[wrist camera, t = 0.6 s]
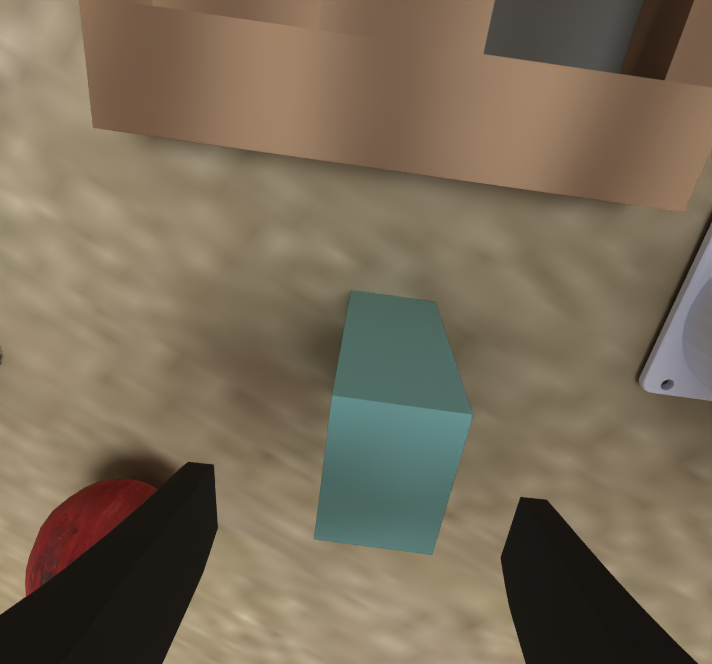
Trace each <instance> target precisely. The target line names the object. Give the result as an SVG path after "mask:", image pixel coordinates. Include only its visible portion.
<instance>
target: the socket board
mask: <svg viewBox="0 0 712 664" xmlns="http://www.w3.org/2000/svg"><path fill="white" fill-rule="evenodd" d="M79 4H80V13H81V22H82V31H83V41H84V50H85V59H86V68H87V77H88V86H89V95H90V104H91V113H92V122H93V128H98V129H105V130H112V131H119V132H126V133H134V134H141V135H148V136H155V137H162V138H169V139H176V140H183V141H190V142H197V143H204V144H211V145H218V146H225V147H232V148H239V149H246V150H253V151H260V152H267V153H274V154H281V155H288V156H295V157H302V158H309V159H316V160H323V161H330V162H337V163H344V164H351V165H358V166H365V167H372V168H379V169H386V170H393V171H400V172H407V173H414V174H421V175H428V176H435V177H442V178H449V179H456V180H463V181H470V182H477V183H484V184H491V185H498V186H505V187H512V188H519V189H526V190H533V191H540V192H547V193H554V194H561V195H568V196H575V197H582V198H589V199H596V200H603V201H610V202H617V203H624V204H631V205H638V206H645V207H652V208H659V209H666V210H673V211H680V212H684V211H685V209H686V206H687V204H688V202H689V200H690V197H691V195H692V193H693V190H694V188H695V186H696V183H697V181H698V179H699V177H700V174H701V172H702V170H703V167H704V165H705V163H706V161H707V158H708V156H709V154H710V151H711V149H712V0H79Z"/></svg>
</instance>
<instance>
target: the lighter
mask: <svg viewBox="0 0 712 664" xmlns="http://www.w3.org/2000/svg"><path fill="white" fill-rule="evenodd" d="M2 357H3V355H2V351H1V347H0V365H1V363H2Z"/></svg>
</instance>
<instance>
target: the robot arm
mask: <svg viewBox="0 0 712 664" xmlns="http://www.w3.org/2000/svg"><path fill="white" fill-rule="evenodd" d="M665 380H668V382H667V383H666V384H664V385H661V384H662V382H663V381H665ZM639 384H640V386H641V387H642V388H643V389H644V390H645V391H647V392H650V393H656V394H664V395H671V396H678V397H685V398H692V399H700V400H707V401H712V223H711V225H710V227H709V229H708V232H707V234H706V236H705V238H704V240H703V242H702V244H701V247H700V249H699V251H698V253H697V255H696V257H695V260H694V262H693V264H692V266H691V268H690V270H689V272H688V275H687V277H686V279H685V281H684V283H683V285H682V287H681V290H680V292H679V294H678V296H677V298H676V300H675V302H674V305H673V307H672V309H671V311H670V313H669V315H668V318H667V320H666V322H665V324H664V326H663V328H662V330H661V333H660V335H659V337H658V339H657V341H656V343H655V345H654V348H653V350H652V352H651V354H650V356H649V358H648V360H647V363H646V365H645V367H644V369H643V371H642V373H641V376H640V378H639ZM217 529H218V523H217V507H216V491H215V476H214V465H212V464H203V463H193V462H188V463H186V464H185V465H184V466H182V467H181V468H180V469H179V470H178V471H177V472H176V473H175V474H174V475H173V476H172V477H170V478H169V479H168V480H167V481H166V482H165V483H164V484H163V485H162V486H161V487H160V488H158V489H157V490H156V491H155V492H154V493H153V494H152V495H151V496H150V497H149V498H147V499H146V500H145V501H144V502H143V503H142V504H141V505H140V506H139V507H137V508H136V509H135V510H134V511H133V512H132V513H131V514H129V515H128V516H127V517H126V518H125V519H124V520H122V521H121V522H120V523H119V524H118V525H117V526H116V527H114V528H113V529H112V530H111V531H110V532H109V533H107V534H106V535H105V536H104V537H103V538H101V539H100V540H99V541H98V542H96V543H95V544H94V545H93V546H91V547H90V548H89V549H88V550H86V551H85V552H84V553H83V554H81V555H80V556H79V557H78V558H76V559H75V560H74V561H73V562H72V563H70V564H69V565H68V566H67V567H65V568H64V569H63V570H61V571H60V572H59V573H57V574H56V575H55V576H53V577H52V578H51V579H49V580H48V581H47V582H45V583H44V584H43V585H41V586H40V587H39V588H37V589H36V590H35V591H33V592H32V593H30V594H29V595H28V596H26V597H25V598H23V599H22V600H21V601H19V602H18V603H16V604H15V605H14V606H12V607H11V608H9V609H8V610H6V611H5V612H4V613H2V614H1V615H0V664H162V663H163V661H164V659H165V657H166V654H167V652H168V650H169V648H170V646H171V643H172V641H173V639H174V637H175V635H176V632H177V630H178V628H179V626H180V623H181V621H182V619H183V617H184V615H185V612H186V610H187V608H188V606H189V603H190V601H191V599H192V597H193V594H194V592H195V590H196V588H197V585H198V583H199V581H200V579H201V576H202V574H203V572H204V569H205V566H206V563H207V560H208V557H209V554H210V551H211V548H212V544H213V541H214V538H215V535H216V532H217ZM501 564H502V570H503V576H504V582H505V587H506V593H507V598H508V603H509V607H510V611H511V615H512V618H513V622H514V625H515V629H516V632H517V635H518V639H519V642H520V646H521V649H522V653H523V656H524V659H525V663H526V664H698V663H697V662H696V661H695V660H694V659H693V658H692V657H691V656H690V655H689V654H688V653H687V652H686V651H684V650H683V649H682V648H681V647H680V646H679V645H678V644H677V643H676V642H675V641H674V640H673V639H672V638H671V637H670V636H669V635H668V634H667V632H666V631H665V630H664V629H663V628H662V627H661V626H660V625H659V624H658V623H657V622H656V621H655V620H654V619H653V618H652V617H651V616H650V615H649V614H648V613H647V612H646V611H645V610H644V609H643V608H642V607H641V606H640V605H639V604H638V602H637V601H636V600H635V599H634V598H633V597H632V596H631V595H630V594H629V593H628V592H627V591H626V590H625V588H624V587H623V586H622V585H621V584H620V583H619V582H618V581H617V580H616V579H615V577H614V576H613V575H612V574H611V573H610V572H609V571H608V570H607V569H606V567H605V566H604V565H603V564H602V563H601V562H600V561H599V560H598V558H597V557H596V556H595V555H594V554H593V553H592V552H591V550H590V549H589V548H588V547H587V546H586V545H585V543H584V542H583V541H582V540H581V539H580V538H579V536H578V535H577V534H576V533H575V532H574V531H573V529H572V528H571V527H570V526H569V525H568V524H567V522H566V521H565V520H564V519H563V518H562V517H561V515H560V514H559V513H558V512H557V511H556V510H555V509H554V507H553V506H552V505H551V504H550V503H549V502H548V501H547V500H544V499H534V498H525V497H520V500H519V503H518V506H517V509H516V512H515V515H514V518H513V521H512V525H511V528H510V531H509V534H508V537H507V540H506V543H505V546H504V549H503V552H502V555H501Z"/></svg>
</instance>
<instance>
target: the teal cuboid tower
mask: <svg viewBox="0 0 712 664" xmlns="http://www.w3.org/2000/svg"><path fill="white" fill-rule="evenodd" d="M472 417H473V413H472V410H471V407H470V404H469V401H468V398H467V395H466V392H465V389H464V386H463V383H462V380H461V377H460V374H459V371H458V368H457V365H456V362H455V360H454V357H453V354H452V351H451V348H450V345H449V342H448V339H447V336H446V333H445V330H444V327H443V324H442V321H441V318H440V315H439V312H438V309H437V306H436V303H435V302H432V301H425V300H418V299H411V298H404V297H396V296H389V295H382V294H375V293H368V292H361V291H353V290H351V294H350V300H349V305H348V311H347V316H346V322H345V327H344V333H343V338H342V344H341V349H340V355H339V360H338V366H337V371H336V377H335V382H334V388H333V393H332V400H331V408H330V416H329V424H328V432H327V440H326V448H325V456H324V463H323V471H322V479H321V487H320V495H319V503H318V511H317V519H316V527H315V534H314V539H316V540H324V541H331V542H339V543H346V544H353V545H361V546H368V547H376V548H383V549H391V550H398V551H405V552H413V553H420V554H428V555H432V554H433V550H434V547H435V544H436V540H437V537H438V533H439V530H440V527H441V523H442V520H443V516H444V513H445V510H446V506H447V503H448V499H449V496H450V492H451V489H452V486H453V482H454V479H455V475H456V472H457V469H458V465H459V462H460V458H461V455H462V451H463V448H464V445H465V441H466V438H467V434H468V431H469V428H470V424H471V421H472Z"/></svg>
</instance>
